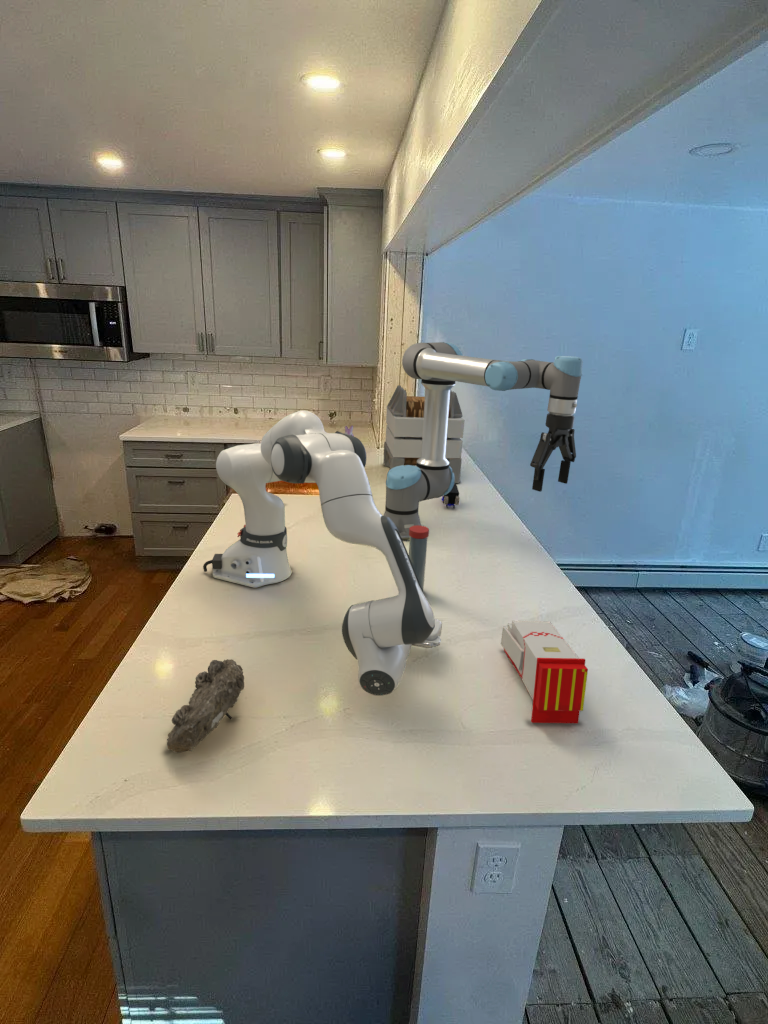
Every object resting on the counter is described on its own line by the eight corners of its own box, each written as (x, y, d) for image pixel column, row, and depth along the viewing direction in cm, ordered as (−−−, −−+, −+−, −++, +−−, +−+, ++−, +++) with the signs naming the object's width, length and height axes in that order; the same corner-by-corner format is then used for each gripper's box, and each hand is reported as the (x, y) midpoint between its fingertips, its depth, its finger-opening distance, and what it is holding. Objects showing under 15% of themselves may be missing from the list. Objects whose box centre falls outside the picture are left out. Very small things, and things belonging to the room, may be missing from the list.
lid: (406, 531, 155) (406, 525, 154) (425, 530, 156) (425, 524, 155) (412, 539, 150) (412, 533, 149) (431, 538, 151) (431, 532, 150)
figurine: (346, 456, 299) (346, 428, 294) (338, 451, 308) (338, 424, 302) (362, 454, 303) (363, 427, 298) (354, 450, 312) (354, 423, 307)
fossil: (192, 660, 117) (244, 628, 112) (224, 691, 120) (276, 661, 115) (142, 746, 98) (202, 712, 93) (182, 779, 101) (242, 748, 96)
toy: (547, 606, 135) (596, 665, 106) (541, 658, 138) (589, 729, 108) (496, 604, 134) (532, 664, 105) (492, 657, 137) (526, 729, 108)
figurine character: (459, 513, 226) (454, 497, 240) (461, 496, 223) (456, 481, 236) (442, 513, 226) (439, 497, 239) (444, 496, 222) (440, 480, 236)
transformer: (382, 463, 289) (386, 382, 275) (445, 464, 293) (451, 384, 279) (390, 482, 257) (394, 392, 243) (460, 483, 261) (468, 394, 247)
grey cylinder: (404, 589, 160) (408, 527, 154) (420, 588, 162) (424, 526, 155) (409, 597, 156) (413, 534, 150) (425, 596, 157) (430, 533, 151)
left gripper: (440, 635, 122) (446, 604, 134) (348, 621, 125) (362, 592, 138) (437, 660, 124) (444, 627, 137) (347, 646, 127) (361, 615, 140)
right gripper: (547, 420, 148) (536, 497, 155) (595, 412, 164) (583, 482, 171) (523, 415, 153) (514, 490, 160) (572, 408, 169) (561, 476, 176)
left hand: (402, 610), depth 137 cm, fingers open, 8 cm apart
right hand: (550, 486), depth 165 cm, fingers open, 13 cm apart
